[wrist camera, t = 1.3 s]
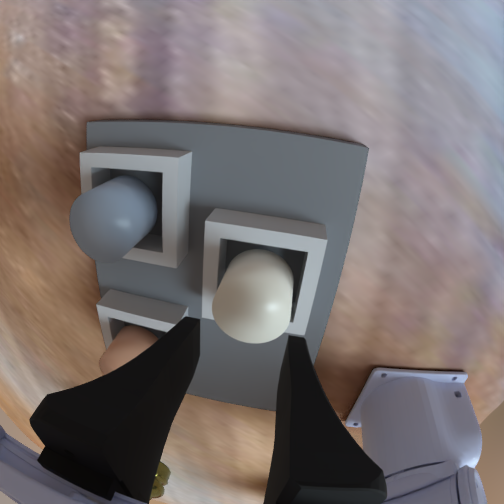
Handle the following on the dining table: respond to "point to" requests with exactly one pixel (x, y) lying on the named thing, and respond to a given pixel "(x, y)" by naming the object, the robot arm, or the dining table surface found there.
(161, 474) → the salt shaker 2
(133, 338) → the terracotta button
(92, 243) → the slate-blue button
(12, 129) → the dining table surface
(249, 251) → the cream button
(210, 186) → the button panel
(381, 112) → the dining table surface
